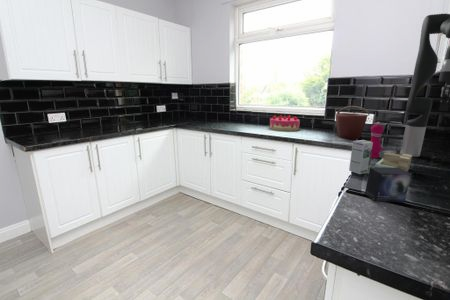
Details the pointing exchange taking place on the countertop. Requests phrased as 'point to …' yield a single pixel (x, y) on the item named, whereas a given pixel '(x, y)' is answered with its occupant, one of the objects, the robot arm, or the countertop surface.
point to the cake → (284, 123)
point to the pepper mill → (376, 139)
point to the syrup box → (360, 156)
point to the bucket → (350, 123)
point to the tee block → (397, 161)
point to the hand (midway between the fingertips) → (442, 110)
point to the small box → (387, 184)
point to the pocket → (381, 164)
